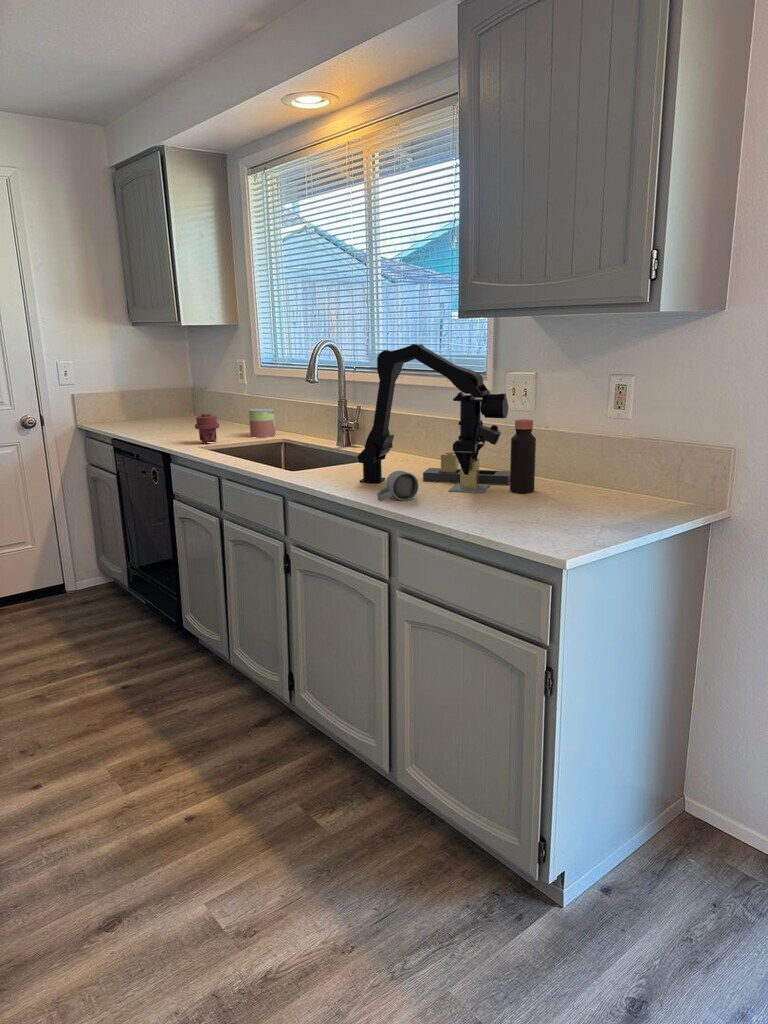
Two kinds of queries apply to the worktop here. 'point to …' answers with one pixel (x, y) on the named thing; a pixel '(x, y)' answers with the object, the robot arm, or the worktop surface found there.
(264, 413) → the canned food
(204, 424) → the mechanical component
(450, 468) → the khaki square post block
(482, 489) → the grey pad
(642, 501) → the worktop surface
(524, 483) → the bottle
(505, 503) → the worktop surface
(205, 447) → the worktop surface
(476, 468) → the olive beige rectangular block
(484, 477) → the rack rail
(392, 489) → the ceramic mug
